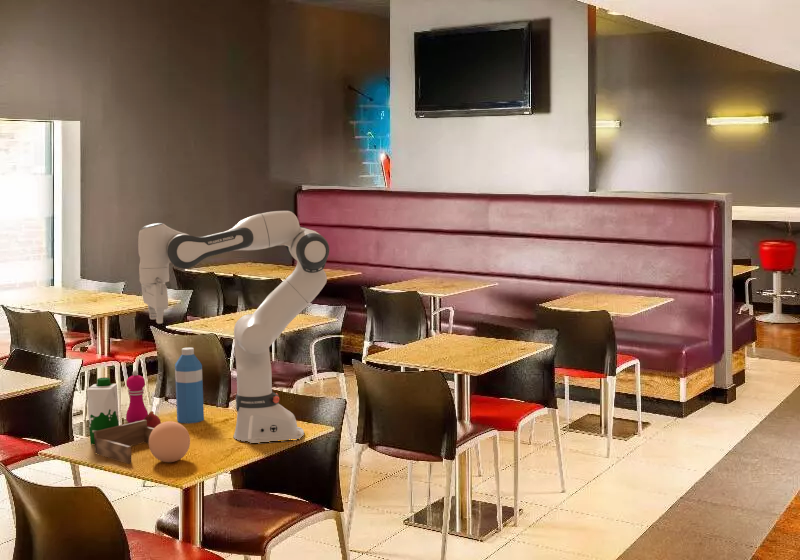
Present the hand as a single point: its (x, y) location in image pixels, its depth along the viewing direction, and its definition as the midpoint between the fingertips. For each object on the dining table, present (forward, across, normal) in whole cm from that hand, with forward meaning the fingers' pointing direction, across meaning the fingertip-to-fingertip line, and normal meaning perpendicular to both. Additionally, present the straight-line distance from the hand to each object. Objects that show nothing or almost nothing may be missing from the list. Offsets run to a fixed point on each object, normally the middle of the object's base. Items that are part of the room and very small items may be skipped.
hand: (156, 321), depth 320 cm
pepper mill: (+40, +26, +2) cm, 47 cm away
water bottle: (+40, +30, -16) cm, 53 cm away
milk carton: (+40, +15, +15) cm, 45 cm away
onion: (+40, +16, 0) cm, 43 cm away
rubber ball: (+34, -17, +1) cm, 38 cm away
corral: (+40, -2, +8) cm, 41 cm away
